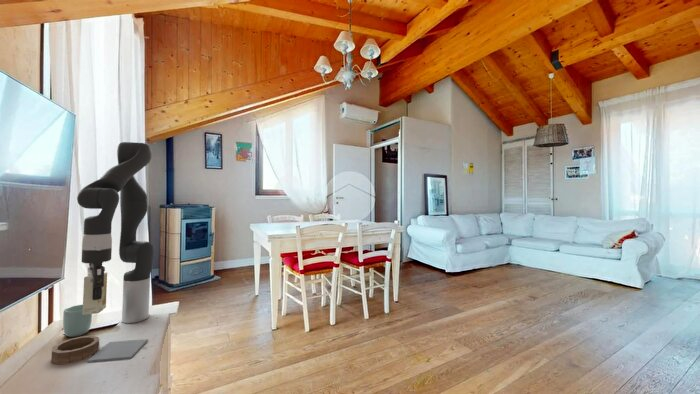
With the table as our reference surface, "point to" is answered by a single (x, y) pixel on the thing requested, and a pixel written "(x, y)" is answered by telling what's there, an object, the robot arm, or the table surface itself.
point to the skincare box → (88, 303)
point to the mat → (118, 350)
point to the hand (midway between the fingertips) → (95, 296)
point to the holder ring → (75, 349)
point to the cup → (76, 321)
